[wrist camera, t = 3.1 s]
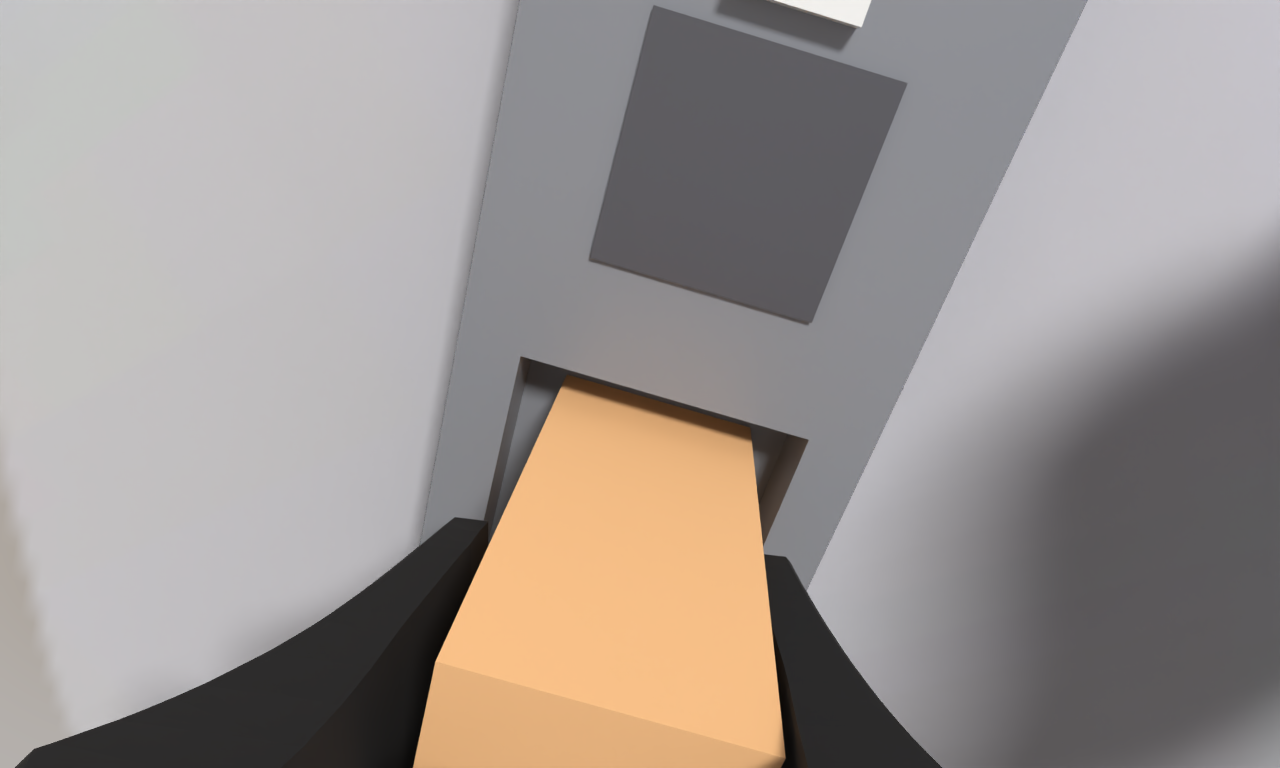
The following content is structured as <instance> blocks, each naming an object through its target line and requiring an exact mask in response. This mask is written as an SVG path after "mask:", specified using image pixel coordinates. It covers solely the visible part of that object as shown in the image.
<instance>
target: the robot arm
mask: <svg viewBox="0 0 1280 768" xmlns="http://www.w3.org/2000/svg"><path fill="white" fill-rule="evenodd" d="M488 546H489V544H488V521H483V520H475V519H467V518H458V517H454V518H453V519H452V520H450V521H449V522H448V523H447V524H445V525H444V526H443V527H442V528H440V529H439V530H438V531H437V532H436V533H434V534H433V535H432V536H431V537H430V538H428V539H427V540H426V541H425V542H424V543H422V544H421V545H420V546H419V547H418V548H416V549H415V550H414V551H413V552H412V553H410V554H409V555H408V556H407V557H405V558H404V559H403V560H402V561H401V562H399V563H398V564H397V565H395V566H394V567H393V568H392V569H390V570H389V571H388V572H387V573H385V574H384V575H383V576H381V577H380V578H379V579H378V580H376V581H375V582H374V583H373V584H371V585H370V586H369V587H367V588H366V589H365V590H363V591H362V592H360V593H359V594H358V595H356V596H355V597H353V598H352V599H351V600H349V601H348V602H346V603H345V604H344V605H342V606H341V607H339V608H338V609H336V610H335V611H334V612H332V613H331V614H329V615H328V616H326V617H325V618H323V619H322V620H320V621H319V622H317V623H316V624H314V625H312V626H311V627H309V628H308V629H306V630H304V631H303V632H301V633H299V634H298V635H296V636H294V637H293V638H291V639H289V640H287V641H286V642H284V643H282V644H281V645H279V646H277V647H275V648H274V649H272V650H270V651H268V652H266V653H265V654H263V655H261V656H259V657H257V658H255V659H253V660H251V661H249V662H247V663H245V664H243V665H241V666H239V667H237V668H235V669H233V670H231V671H229V672H227V673H225V674H223V675H221V676H219V677H217V678H215V679H213V680H211V681H209V682H207V683H205V684H203V685H201V686H199V687H196V688H194V689H192V690H190V691H187V692H185V693H183V694H181V695H178V696H176V697H174V698H171V699H169V700H167V701H164V702H162V703H159V704H157V705H154V706H152V707H150V708H147V709H145V710H142V711H140V712H137V713H135V714H132V715H130V716H127V717H124V718H122V719H119V720H117V721H114V722H111V723H108V724H105V725H102V726H100V727H97V728H94V729H91V730H88V731H85V732H83V733H80V734H77V735H74V736H71V737H69V738H65V739H63V740H60V741H57V742H54V743H51V744H48V745H45V746H42V747H39V748H36V749H34V750H33V751H32V752H31V753H30V754H28V755H27V756H26V757H25V758H24V759H23V760H22V761H21V762H20V763H19V764H18V765H17V766H16V767H15V768H413V765H414V761H415V756H416V751H417V746H418V742H419V737H420V732H421V728H422V723H423V718H424V713H425V709H426V704H427V699H428V694H429V690H430V685H431V680H432V676H433V671H434V666H435V662H436V659H437V657H438V655H439V653H440V651H441V648H442V646H443V644H444V642H445V640H446V637H447V635H448V633H449V631H450V629H451V627H452V624H453V622H454V620H455V618H456V616H457V613H458V611H459V609H460V607H461V605H462V603H463V600H464V598H465V596H466V594H467V592H468V589H469V587H470V585H471V583H472V581H473V579H474V576H475V574H476V572H477V570H478V568H479V565H480V563H481V561H482V559H483V557H484V554H485V552H486V550H487V548H488ZM764 560H765V569H766V579H767V588H768V597H769V607H770V616H771V626H772V635H773V644H774V654H775V663H776V672H777V682H778V691H779V700H780V710H781V719H782V728H783V738H784V747H785V756H786V759H785V761H784V763H783V764H782V766H781V768H942V767H941V766H940V765H939V764H938V763H937V762H936V761H935V760H934V759H933V758H932V757H931V756H930V755H929V754H928V753H927V752H926V751H925V750H924V749H923V748H922V747H921V746H920V745H919V744H918V743H917V742H916V741H915V740H914V739H913V738H912V737H911V736H910V734H909V733H908V732H907V731H906V730H905V729H904V728H903V727H902V725H901V724H900V723H899V722H898V721H897V720H896V719H895V717H894V716H893V715H892V714H891V713H890V712H889V710H888V709H887V708H886V707H885V705H884V704H883V703H882V702H881V701H880V699H879V698H878V697H877V696H876V694H875V693H874V692H873V690H872V689H871V688H870V687H869V685H868V684H867V683H866V681H865V680H864V679H863V677H862V676H861V674H860V673H859V672H858V670H857V669H856V668H855V666H854V665H853V664H852V662H851V661H850V659H849V658H848V656H847V655H846V654H845V652H844V651H843V649H842V648H841V646H840V645H839V643H838V642H837V640H836V639H835V637H834V636H833V634H832V633H831V631H830V630H829V628H828V626H827V625H826V623H825V622H824V620H823V619H822V617H821V615H820V614H819V612H818V610H817V609H816V607H815V605H814V604H813V602H812V600H811V599H810V597H809V595H808V593H807V592H806V590H805V588H804V586H803V585H802V583H801V581H800V579H799V577H798V575H797V573H796V572H795V570H794V568H793V566H792V564H791V562H790V561H789V560H788V559H787V557H784V556H776V555H767V554H764Z"/></svg>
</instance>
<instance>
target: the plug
mask: <svg viewBox="0 0 1280 768" xmlns="http://www.w3.org/2000/svg"><path fill="white" fill-rule="evenodd" d="M785 759H786V756H785V747H784V738H783V728H782V719H781V710H780V700H779V691H778V682H777V672H776V663H775V654H774V644H773V635H772V626H771V616H770V607H769V597H768V588H767V579H766V569H765V560H764V551H763V541H762V532H761V523H760V513H759V504H758V495H757V485H756V476H755V467H754V457H753V448H752V439H751V429H750V427H746V426H743V425H740V424H736V423H733V422H729V421H726V420H722V419H719V418H715V417H712V416H709V415H705V414H702V413H698V412H695V411H691V410H688V409H684V408H681V407H677V406H674V405H671V404H667V403H664V402H660V401H657V400H653V399H650V398H646V397H643V396H640V395H636V394H633V393H629V392H626V391H622V390H619V389H615V388H612V387H609V386H605V385H602V384H598V383H595V382H591V381H588V380H584V379H581V378H578V377H574V376H571V375H566V377H565V380H564V382H563V384H562V386H561V388H560V391H559V393H558V395H557V397H556V399H555V402H554V404H553V406H552V408H551V410H550V412H549V415H548V417H547V419H546V421H545V423H544V426H543V428H542V430H541V432H540V434H539V436H538V439H537V441H536V443H535V445H534V447H533V450H532V452H531V454H530V456H529V458H528V461H527V463H526V465H525V467H524V469H523V471H522V474H521V476H520V478H519V480H518V482H517V485H516V487H515V489H514V491H513V493H512V495H511V498H510V500H509V502H508V504H507V506H506V509H505V511H504V513H503V515H502V517H501V520H500V522H499V524H498V526H497V528H496V530H495V533H494V535H493V537H492V539H491V541H490V544H489V546H488V548H487V550H486V552H485V554H484V557H483V559H482V561H481V563H480V565H479V568H478V570H477V572H476V574H475V576H474V579H473V581H472V583H471V585H470V587H469V589H468V592H467V594H466V596H465V598H464V600H463V603H462V605H461V607H460V609H459V611H458V613H457V616H456V618H455V620H454V622H453V624H452V627H451V629H450V631H449V633H448V635H447V637H446V640H445V642H444V644H443V646H442V648H441V651H440V653H439V655H438V657H437V659H436V662H435V666H434V671H433V676H432V680H431V685H430V690H429V694H428V699H427V704H426V709H425V713H424V718H423V723H422V728H421V732H420V737H419V742H418V746H417V751H416V756H415V761H414V765H413V768H781V766H782V764H783V763H784V761H785Z"/></svg>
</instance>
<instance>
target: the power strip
mask: <svg viewBox="0 0 1280 768" xmlns="http://www.w3.org/2000/svg"><path fill="white" fill-rule="evenodd" d="M1087 1H1088V0H520V1H519V6H518V12H517V17H516V23H515V28H514V34H513V39H512V44H511V50H510V55H509V61H508V66H507V72H506V77H505V83H504V88H503V94H502V99H501V105H500V110H499V115H498V121H497V126H496V132H495V137H494V143H493V148H492V154H491V159H490V165H489V170H488V176H487V181H486V186H485V192H484V197H483V203H482V208H481V214H480V219H479V225H478V230H477V236H476V241H475V247H474V252H473V257H472V263H471V268H470V274H469V279H468V285H467V290H466V296H465V301H464V307H463V312H462V318H461V323H460V328H459V334H458V339H457V345H456V350H455V356H454V361H453V367H452V372H451V378H450V383H449V389H448V394H447V399H446V405H445V410H444V416H443V421H442V427H441V432H440V438H439V443H438V449H437V454H436V460H435V465H434V470H433V476H432V481H431V487H430V492H429V498H428V503H427V509H426V514H425V520H424V525H423V531H422V536H421V541H420V545H421V544H422V543H424V542H425V541H426V540H427V539H428V538H430V537H431V536H432V535H433V534H434V533H436V532H437V531H438V530H439V529H440V528H442V527H443V526H444V525H445V524H447V523H448V522H449V521H450V520H452V519H453V518H454V517H458V518H467V519H475V520H483V521H488V544H490V541H491V539H492V537H493V535H494V533H495V530H496V528H497V526H498V524H499V522H500V520H501V517H502V515H503V513H504V511H505V509H506V506H507V504H508V502H509V500H510V498H511V495H512V493H513V491H514V489H515V487H516V485H517V482H518V480H519V478H520V476H521V474H522V471H523V469H524V467H525V465H526V463H527V461H528V458H529V456H530V454H531V452H532V450H533V447H534V445H535V443H536V441H537V439H538V436H539V434H540V432H541V430H542V428H543V426H544V423H545V421H546V419H547V417H548V415H549V412H550V410H551V408H552V406H553V404H554V402H555V399H556V397H557V395H558V393H559V391H560V388H561V386H562V384H563V382H564V380H565V377H566V375H571V376H574V377H578V378H581V379H584V380H588V381H591V382H595V383H598V384H602V385H605V386H609V387H612V388H615V389H619V390H622V391H626V392H629V393H633V394H636V395H640V396H643V397H646V398H650V399H653V400H657V401H660V402H664V403H667V404H671V405H674V406H677V407H681V408H684V409H688V410H691V411H695V412H698V413H702V414H705V415H709V416H712V417H715V418H719V419H722V420H726V421H729V422H733V423H736V424H740V425H743V426H746V427H750V429H751V439H752V448H753V457H754V467H755V476H756V485H757V495H758V504H759V513H760V523H761V532H762V541H763V551H764V554H767V555H776V556H784V557H787V559H788V560H789V561H790V562H791V564H792V566H793V568H794V570H795V572H796V573H797V575H798V577H799V579H800V581H801V583H802V585H803V586H804V588H805V590H806V591H807V589H808V587H809V584H810V582H811V580H812V578H813V576H814V574H815V572H816V570H817V568H818V566H819V563H820V561H821V559H822V557H823V555H824V553H825V551H826V549H827V547H828V545H829V542H830V540H831V538H832V536H833V534H834V532H835V530H836V528H837V526H838V524H839V521H840V519H841V517H842V515H843V513H844V511H845V509H846V507H847V505H848V503H849V500H850V498H851V496H852V494H853V492H854V490H855V488H856V486H857V484H858V482H859V479H860V477H861V475H862V473H863V471H864V469H865V467H866V465H867V463H868V461H869V458H870V456H871V454H872V452H873V450H874V448H875V446H876V444H877V442H878V440H879V437H880V435H881V433H882V431H883V429H884V427H885V425H886V423H887V421H888V419H889V416H890V414H891V412H892V410H893V408H894V406H895V404H896V402H897V400H898V398H899V395H900V393H901V391H902V389H903V387H904V385H905V383H906V381H907V379H908V377H909V374H910V372H911V370H912V368H913V366H914V364H915V362H916V360H917V358H918V356H919V353H920V351H921V349H922V347H923V345H924V343H925V341H926V339H927V337H928V335H929V332H930V330H931V328H932V326H933V324H934V322H935V320H936V318H937V316H938V314H939V311H940V309H941V307H942V305H943V303H944V301H945V299H946V297H947V295H948V293H949V290H950V288H951V286H952V284H953V282H954V280H955V278H956V276H957V274H958V272H959V269H960V267H961V265H962V263H963V261H964V259H965V257H966V255H967V253H968V251H969V248H970V246H971V244H972V242H973V240H974V238H975V236H976V234H977V232H978V230H979V227H980V225H981V223H982V221H983V219H984V217H985V215H986V213H987V211H988V209H989V206H990V204H991V202H992V200H993V198H994V196H995V194H996V192H997V190H998V188H999V185H1000V183H1001V181H1002V179H1003V177H1004V175H1005V173H1006V171H1007V169H1008V167H1009V164H1010V162H1011V160H1012V158H1013V156H1014V154H1015V152H1016V150H1017V148H1018V146H1019V143H1020V141H1021V139H1022V137H1023V135H1024V133H1025V131H1026V129H1027V127H1028V125H1029V122H1030V120H1031V118H1032V116H1033V114H1034V112H1035V110H1036V108H1037V106H1038V104H1039V101H1040V99H1041V97H1042V95H1043V93H1044V91H1045V89H1046V87H1047V85H1048V83H1049V80H1050V78H1051V76H1052V74H1053V72H1054V70H1055V68H1056V66H1057V64H1058V62H1059V59H1060V57H1061V55H1062V53H1063V51H1064V49H1065V47H1066V45H1067V43H1068V41H1069V38H1070V36H1071V34H1072V32H1073V30H1074V28H1075V26H1076V24H1077V22H1078V20H1079V17H1080V15H1081V13H1082V11H1083V9H1084V7H1085V5H1086V3H1087Z"/></svg>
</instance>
